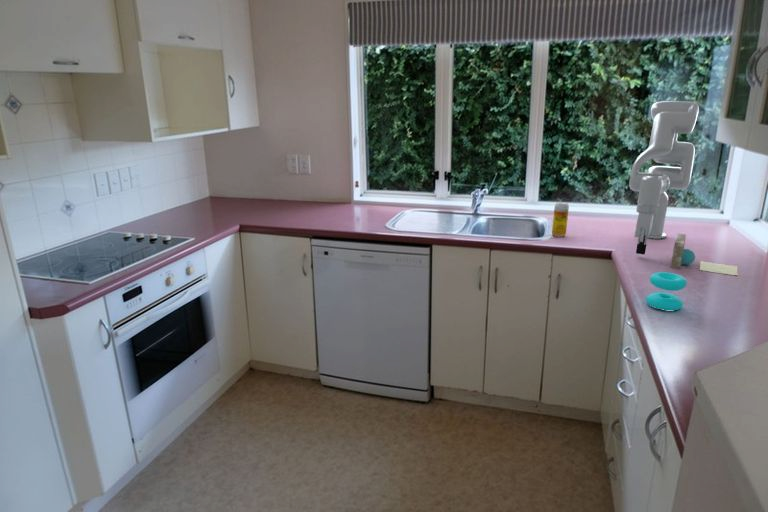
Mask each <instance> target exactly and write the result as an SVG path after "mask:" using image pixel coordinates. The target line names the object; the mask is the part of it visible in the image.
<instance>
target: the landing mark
mask: <svg viewBox="0 0 768 512" xmlns="http://www.w3.org/2000/svg"><path fill="white" fill-rule="evenodd" d="M701 270H702V272H708V273H715V274H723V275H728V276H734V275H737V276H736V277H738V275H739V272H738V265H729V264H723V263H717V262H710V261H700V264H699V271H701Z"/></svg>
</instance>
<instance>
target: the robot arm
mask: <svg viewBox="0 0 768 512" xmlns="http://www.w3.org/2000/svg"><path fill="white" fill-rule="evenodd" d="M699 107H700V106H699V104H698V103H697V102H694V101H675V100H674V101H671V100H669V101H668V100H666V101H657V102H655V103H653V104H652V105H651V108H650V114H651V118H652V121H653V123H652V128H651V133H650V134H651V135H650V139H649V144H648V147H647V149H646V150H644V151H643V152H641V153H640V155H638V156H637V158H636V159H635V161H634V162H633V164H632V168H631V172H630V176H629V182H628V183H629V185H628V186H629V189H630V190H631V191H633V192H638V197H637V204H636V210H635V211H636V213H638V215H637V219H636V224H635V232H634V238H638V239H637V240H638V241H637V244H636V250H635V253H636V254H639V255H645V254H646V250H647V246H648V245H647V241H648V240H647V239H652V238H653V239H655V240H659V239H661V238H662V239H665V238H667V234H666V233H665V232H664V229H665V228H664V227H665V223H666V217H667V216H666V215H667V210H668V205H669V196H668V194H667V191H668V189H671V190H680V191H681V190H686V189H687V188H688V187H689V186H690V183H691V179H692V175H693V174H692V173H693V167H694V161H695V151H696V150H695V145H694V144H693V143H692V142H687V141H678V135H679V134H682V135H687V134H688V135H689V134H691V133H692V132H694V131H693V130H694V129H695V126H696V124H697V123H696V122H697V120H698V116H699V111H700V108H699ZM652 160H653V161H654V162H655V163H658V164H664V165H654V166H651V167H649V168H648V169H647V170H646V172H640V170H641V167H642V166H643V165H644V164H645V163H647V162H649V161H652ZM665 164H666V165H665ZM667 164H668V165H679V166H680V167H679V166H667ZM662 239H661V240H662Z"/></svg>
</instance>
